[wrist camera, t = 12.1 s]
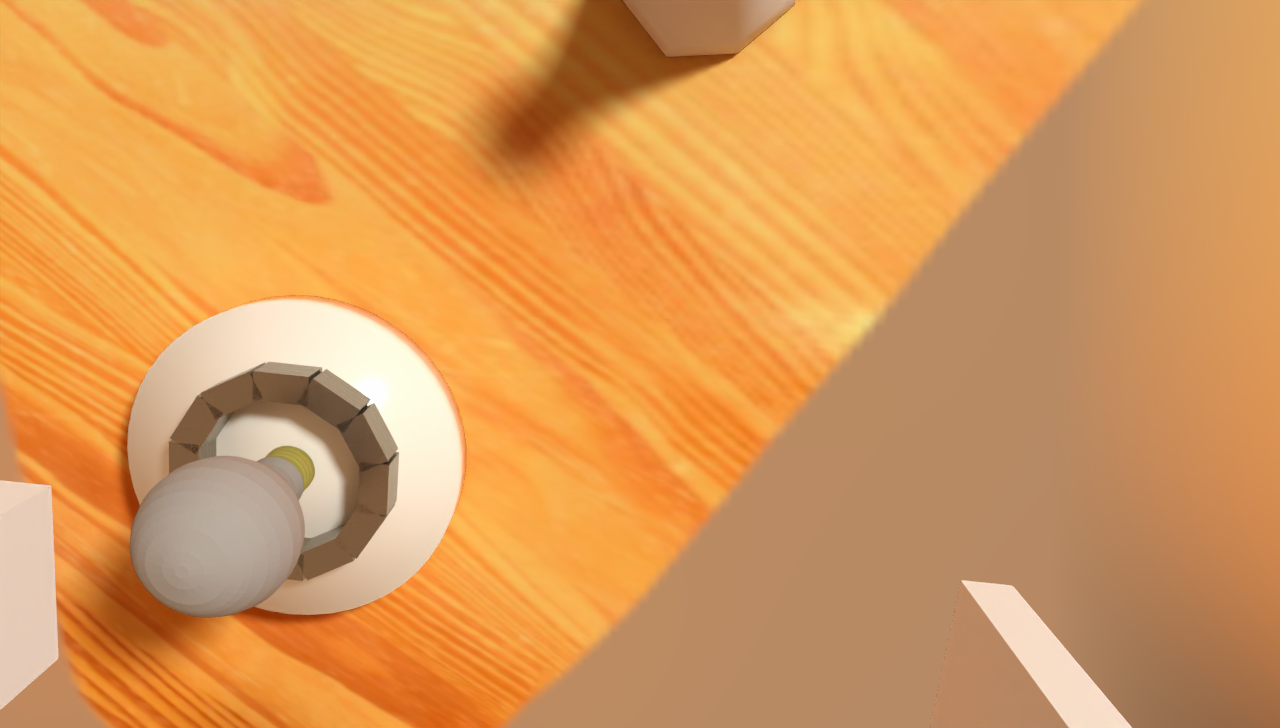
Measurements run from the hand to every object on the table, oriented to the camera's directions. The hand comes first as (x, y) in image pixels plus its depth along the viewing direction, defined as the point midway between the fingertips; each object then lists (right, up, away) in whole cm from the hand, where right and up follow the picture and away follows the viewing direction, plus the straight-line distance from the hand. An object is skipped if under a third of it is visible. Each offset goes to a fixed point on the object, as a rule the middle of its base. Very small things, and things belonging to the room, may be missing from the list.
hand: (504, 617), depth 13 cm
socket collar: (-13, -1, +26) cm, 29 cm away
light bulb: (-13, 0, +26) cm, 29 cm away
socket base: (-13, 0, +27) cm, 30 cm away
